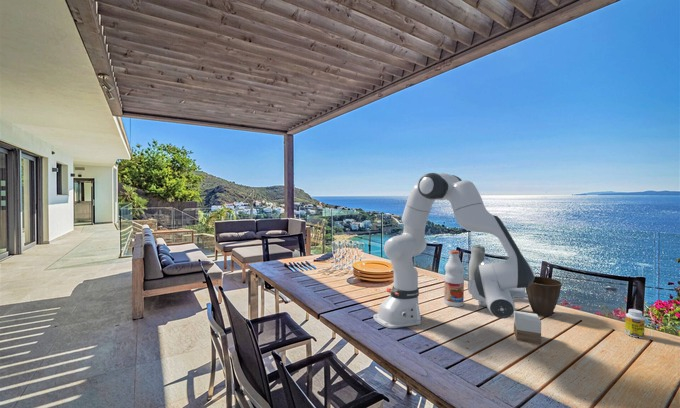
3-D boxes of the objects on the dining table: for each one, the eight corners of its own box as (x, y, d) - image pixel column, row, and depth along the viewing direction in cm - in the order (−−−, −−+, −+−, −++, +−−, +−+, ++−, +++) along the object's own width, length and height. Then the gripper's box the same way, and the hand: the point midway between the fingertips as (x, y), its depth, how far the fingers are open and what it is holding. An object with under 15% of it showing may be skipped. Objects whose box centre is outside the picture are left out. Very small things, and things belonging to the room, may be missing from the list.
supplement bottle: (630, 337, 117) (631, 312, 117) (621, 331, 122) (622, 307, 122) (647, 339, 115) (648, 314, 115) (638, 333, 121) (639, 308, 120)
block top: (541, 333, 112) (541, 321, 112) (516, 329, 115) (517, 318, 115) (536, 324, 119) (536, 313, 119) (513, 321, 123) (514, 310, 122)
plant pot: (524, 315, 138) (525, 282, 137) (522, 305, 151) (522, 274, 151) (564, 322, 131) (564, 287, 130) (557, 310, 144) (558, 278, 144)
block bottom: (540, 344, 112) (541, 333, 112) (516, 340, 115) (517, 329, 115) (536, 335, 120) (536, 324, 119) (513, 331, 123) (513, 321, 123)
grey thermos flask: (488, 292, 171) (488, 244, 170) (486, 297, 162) (486, 247, 161) (469, 289, 176) (470, 243, 175) (467, 294, 167) (467, 245, 166)
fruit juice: (453, 299, 160) (454, 248, 158) (467, 305, 151) (468, 251, 150) (440, 302, 156) (440, 250, 155) (453, 308, 147) (454, 253, 146)
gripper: (529, 289, 107) (522, 279, 119) (468, 282, 115) (468, 273, 127) (528, 306, 107) (522, 294, 120) (467, 298, 115) (467, 287, 128)
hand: (493, 283), depth 124 cm, fingers closed on tall block, 5 cm apart
